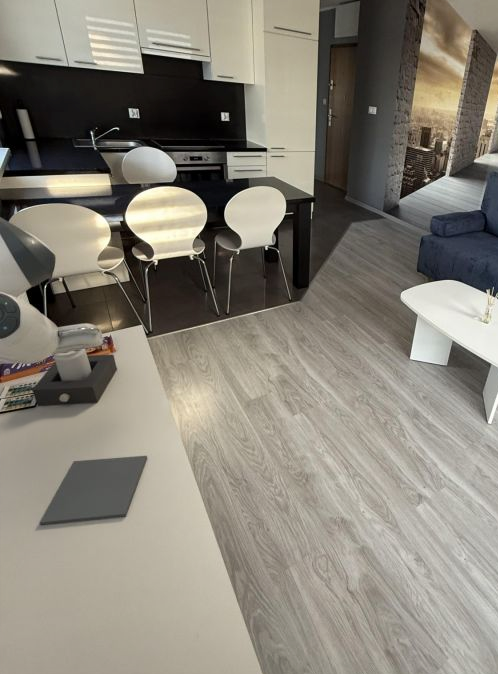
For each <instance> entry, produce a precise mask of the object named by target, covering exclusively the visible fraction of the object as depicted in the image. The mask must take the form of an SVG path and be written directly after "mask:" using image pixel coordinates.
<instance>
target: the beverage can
mask: <svg viewBox="0 0 498 674" xmlns="http://www.w3.org/2000/svg"><path fill="white" fill-rule="evenodd" d="M87 353H88V352H87V350H86V349H83V350H81V351H75V352H74V351H70V352H64V353H59V354H53V359H54V363H55V362H56V365H57V368H58V371H59V374H60V377H61V380H62V381H82V380H86V379H87V377H88V376H89V374H90V373H91V367H90V364H89V360H88V357H87V355H88V354H87Z"/></svg>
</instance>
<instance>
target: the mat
mask: <svg viewBox="0 0 498 674" xmlns="http://www.w3.org/2000/svg"><path fill="white" fill-rule="evenodd" d="M147 461H148V456H147V455H135V456H124V457H123V456H121V457H110V458H98V459H85V460H74V461H73V462H72V463H71V466H70V467H69V468H68V470H67V472H66V474H65V476H64V478H63V480H62V481H61V484H60V485H59V486H58V489H57V490H56V492H55V494H54V496H53V497H52V499H51V501H50V503H49V505H48V506H47V508H46V509H45V511H44V514H43V516H42V517H41V518H40V520H39V524H40V526H45V525H55V524H64V523H67V524H68V523H76V522H87V521H96V520H105V519H106V520H107V519H115V518H123V517H124V518H125V517H127V514H128V512H129V509H130V507H131V503H132V501H133V498H134V495H135V493H136V490H137V487H138V486H139V485H138V484H139V482H140V479H141V476H142V474H143V471H144V469H145V466H146V463H147Z"/></svg>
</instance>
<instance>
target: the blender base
mask: <svg viewBox="0 0 498 674" xmlns="http://www.w3.org/2000/svg"><path fill="white" fill-rule="evenodd" d="M87 357H88V360H89V364H90V367H91V373H90V374H89V376H88V377H87V379H86V380H82V381H62V380H61V377H60V374H59V371H58V368H57V365H56V362H55V361H54V362H53V364H52V365H51V366H50V367H49V368H48V370H47V371H46V372H45V373H44V374H43V376H42V377H41V378H40V379H39V381H38V382H37V383H36V384H35V385H34V387H33V388H32V389H31V392H32V394H33V396H34V399H35V403H36V405H37V406H38V407H42V406H63V405H81V404H96V403H99V401H100V399H101V398H102V396H103V394H104V392H105V390H106V389H107V388H108V387H109V386H108V385H109V384H110V382H111V381H112V379H113V377H114V375H115V374H116V371H117V370H118V367H117V364H116V360H115V355H114V354H91V355H90V354H89V355H88V354H87Z"/></svg>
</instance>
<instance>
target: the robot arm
mask: <svg viewBox="0 0 498 674" xmlns="http://www.w3.org/2000/svg"><path fill="white" fill-rule="evenodd" d="M55 268H56V255H55V254H54V252H53V250H52V249H51V248H50V247H49V246H48V244H46V243H45V242H44V241H43V240H42V239H40V238H39V237H37V236H35V235H34V234H33V233H30V232H29V231H26V230H24V229H22V228H20V227H18V226H16V225H14V224H13V223H11V222H9V221H8V220H6V219H5V218H3V217H1V216H0V365H2V364H3V365H4V364H5V365H6V364H8V365H9V364H10V365H15V364H22V365H31V364H35V363H39V362H42V361H44V360H46V359H48V358H49V357H50V356H54V354H59V353H64V352H70V351H74V352H75V351H81V350H83V349H85V350H86V349H92V348H97V347H100V346H102V345H103V344H104V339H103V338H104V337H103V331H102V329H101V328H100V327H99V326H97V325H95V324H93V323H77V324H71V325H64V326H57V325H56V323H55V322H54V321H52V320H51V319H49V318H48V317H47V316H46V315H45V314H43V313H41V312H40V310H38V309H37V308H36V307H35V306H33V304H30V302H27V301H25V300H23V299H22V298H19V296H21V295H22V294H25V292H27V291H28V290H30V289H31V288H34V287H36V286H38V285H39V284H41V283H43V282H45V281H47V280H48V279H50V278H51V277H53V274H54V271H55Z"/></svg>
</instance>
